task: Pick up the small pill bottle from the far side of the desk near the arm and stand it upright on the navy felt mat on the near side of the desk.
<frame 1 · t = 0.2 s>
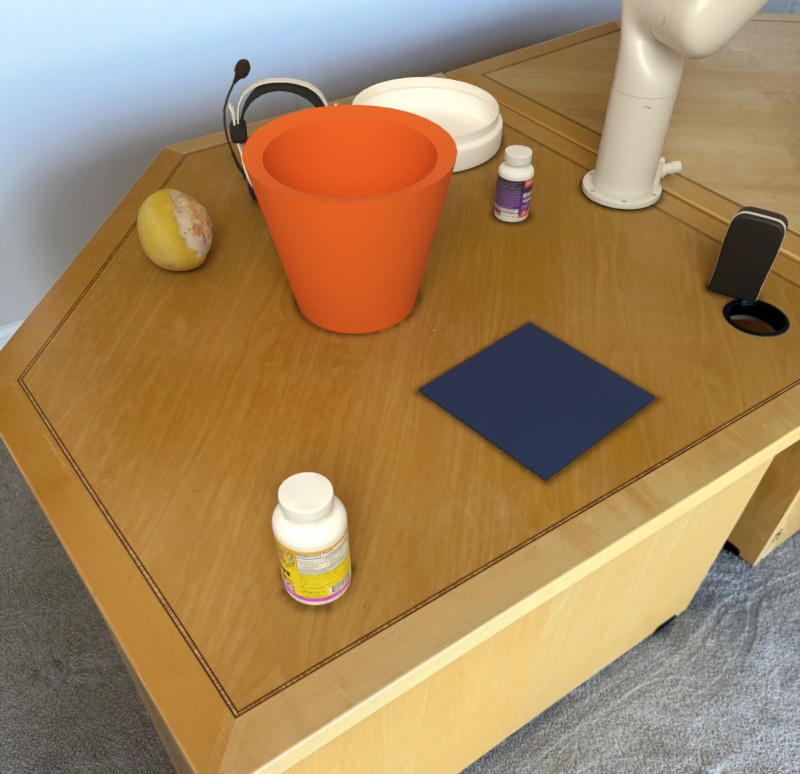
fruit: (184, 265, 109), on the table
pill bottle: (510, 215, 118), on the table
flowerpot: (356, 299, 104), on the table
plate: (424, 140, 135), on the table
supplement bottle: (317, 581, 74), on the table
mat: (536, 395, 91), on the table
battery charger: (733, 292, 106), on the table
headset: (293, 200, 121), on the table
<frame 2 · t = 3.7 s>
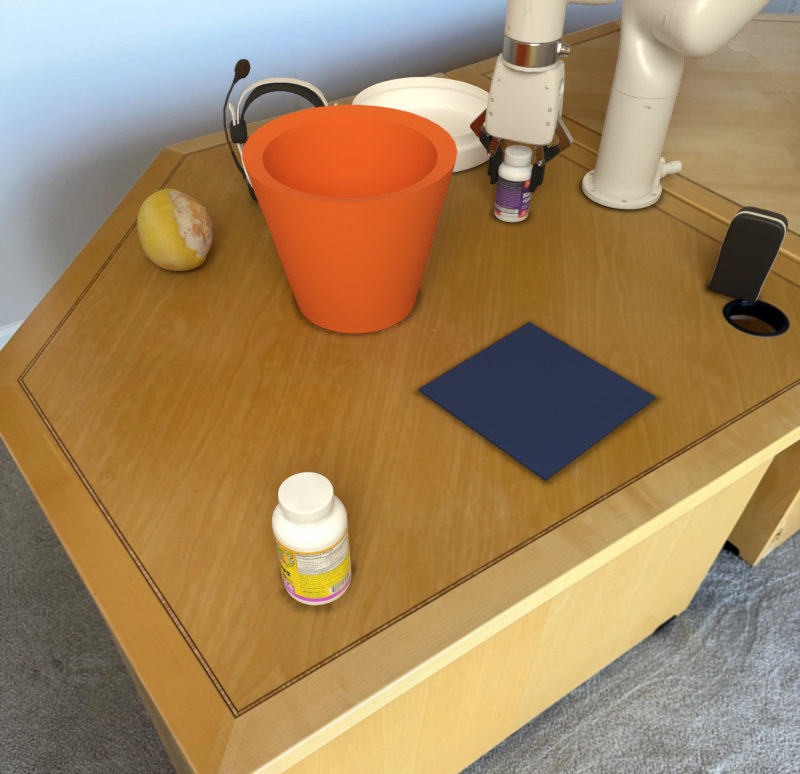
hand: (514, 183, 114), 5 cm above the table, tool pointing down, fingers closed on pill bottle, 5 cm apart
pill bottle: (510, 215, 118), on the table, touching gripper
everything else where it was.
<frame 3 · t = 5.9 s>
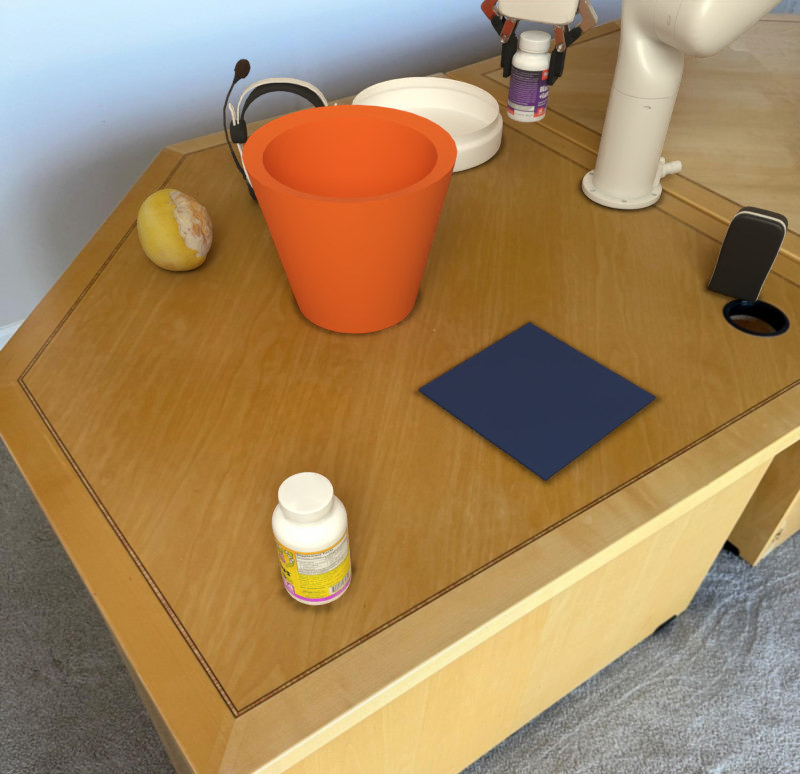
hand: (530, 76, 101), 20 cm above the table, tool pointing down, fingers closed on pill bottle, 5 cm apart
pill bottle: (525, 116, 105), point 15 cm above the table, touching gripper
everything else where it was.
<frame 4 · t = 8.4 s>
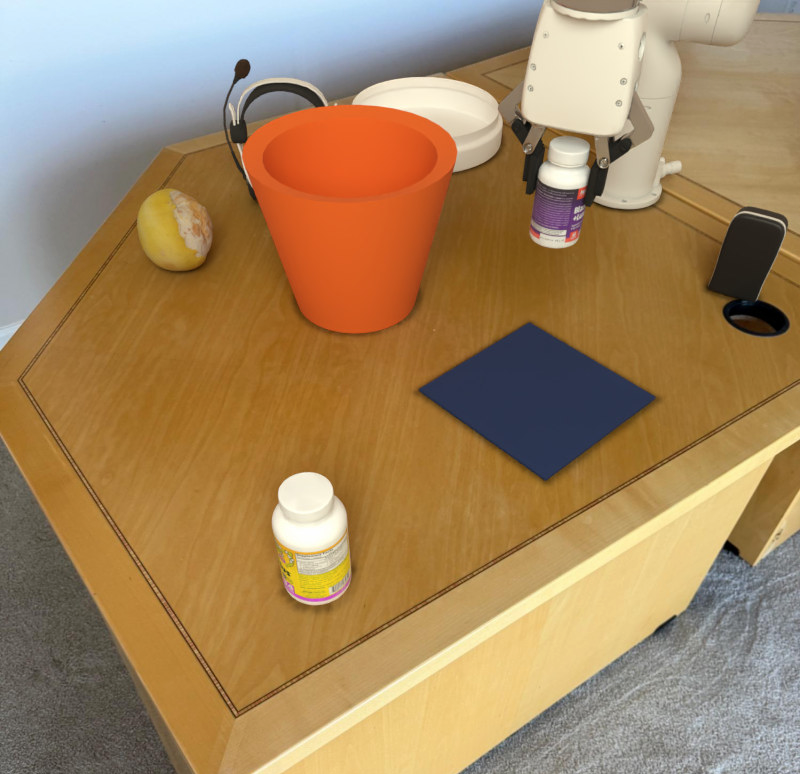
hand: (561, 193, 78), 22 cm above the table, tool pointing down, fingers closed on pill bottle, 5 cm apart
pill bottle: (553, 238, 82), point 17 cm above the table, touching gripper
everything else where it was.
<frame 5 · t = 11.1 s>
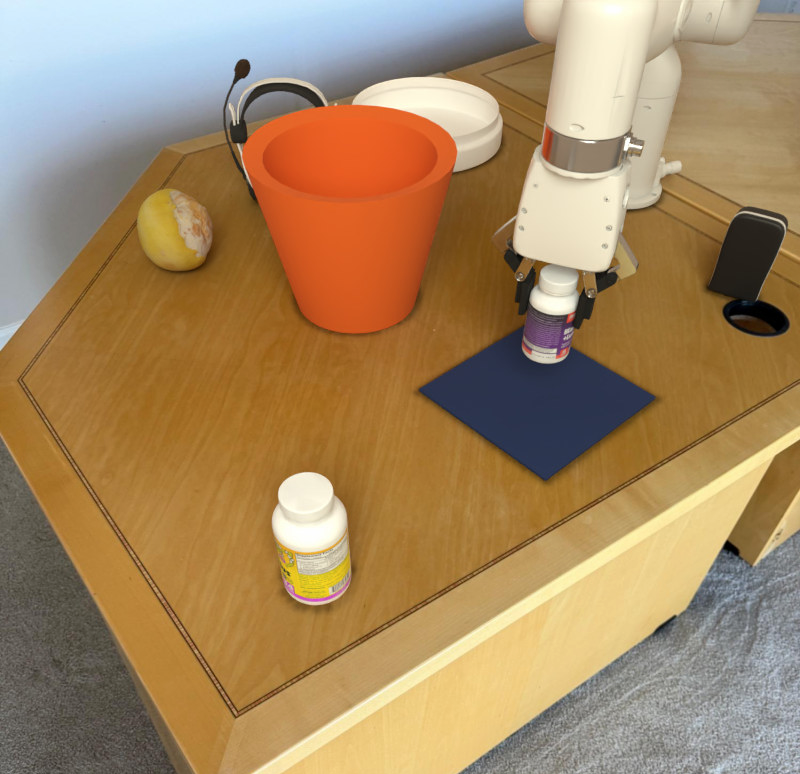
hand: (551, 313, 83), 11 cm above the table, tool pointing down, fingers closed on pill bottle, 5 cm apart
pill bottle: (544, 351, 86), point 6 cm above the table, touching gripper
everything else where it was.
when the fingers open (5 cm above the table, at t = 13.0 s): pill bottle stays where it is, resting on mat.
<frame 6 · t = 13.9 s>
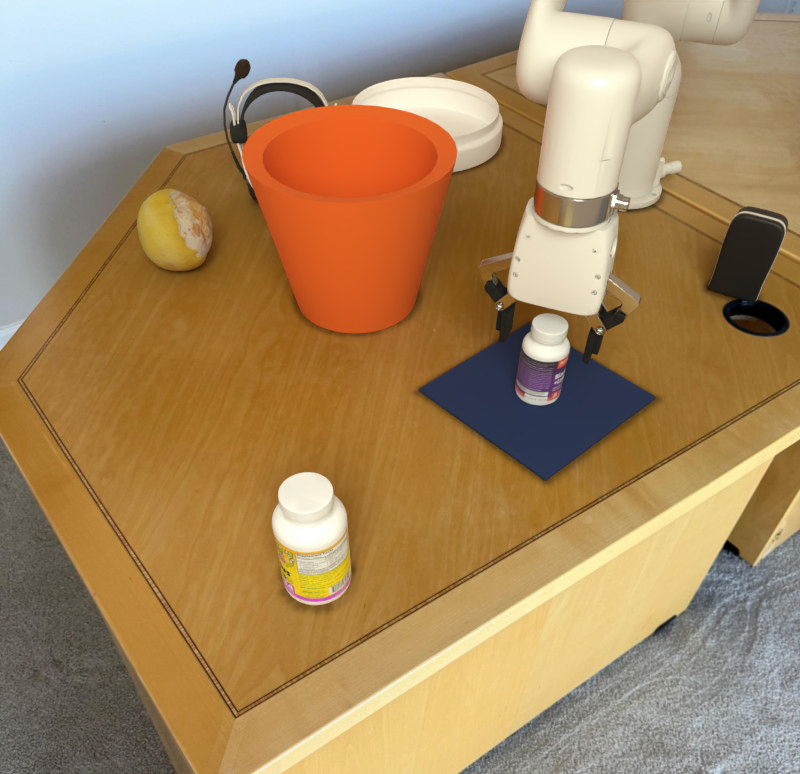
hand: (546, 345, 86), 7 cm above the table, tool pointing down, fingers open, 9 cm apart
pill bottle: (537, 393, 91), resting on mat
everything else where it was.
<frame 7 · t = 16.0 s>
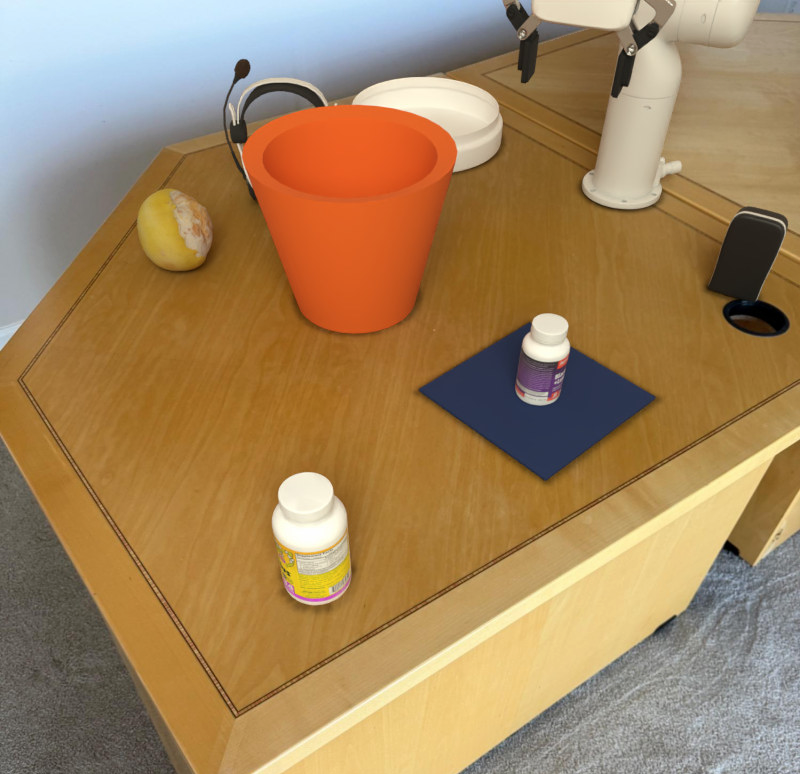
hand: (571, 85, 81), 28 cm above the table, tool pointing down, fingers open, 9 cm apart
nothing on the table moved.
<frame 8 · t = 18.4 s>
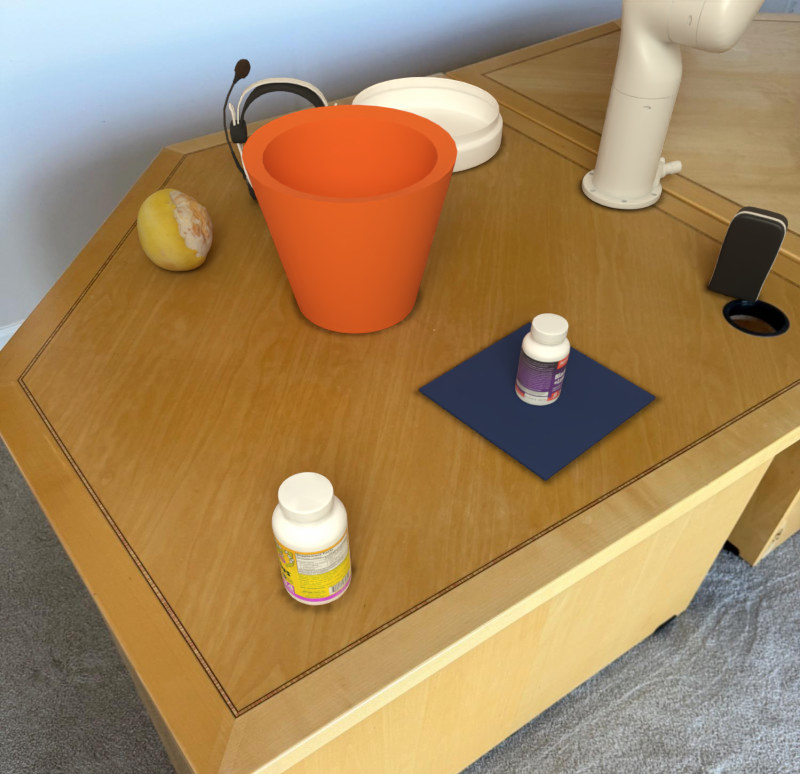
nothing on the table moved.
at the end: pill bottle inside the target area on the mat (0.1 cm from its centre), point 0.2 cm above the mat's base; pill bottle tilted 0° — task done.
